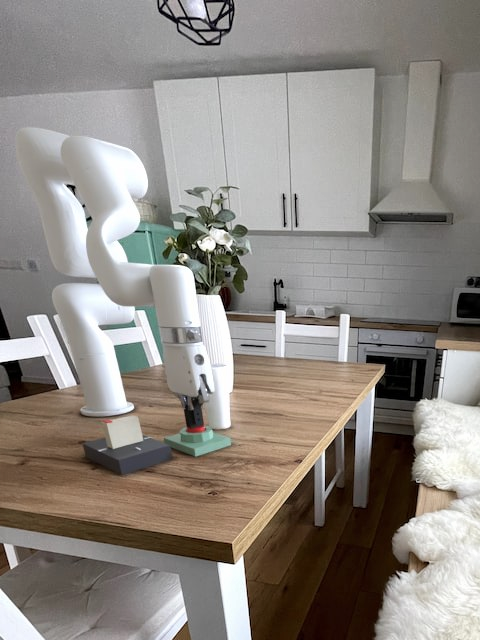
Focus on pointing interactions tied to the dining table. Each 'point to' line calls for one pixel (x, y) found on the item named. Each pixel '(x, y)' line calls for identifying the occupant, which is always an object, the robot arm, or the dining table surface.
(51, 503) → the dining table surface
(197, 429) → the button
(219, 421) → the drinking glass
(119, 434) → the knob
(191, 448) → the button box
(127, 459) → the panel
